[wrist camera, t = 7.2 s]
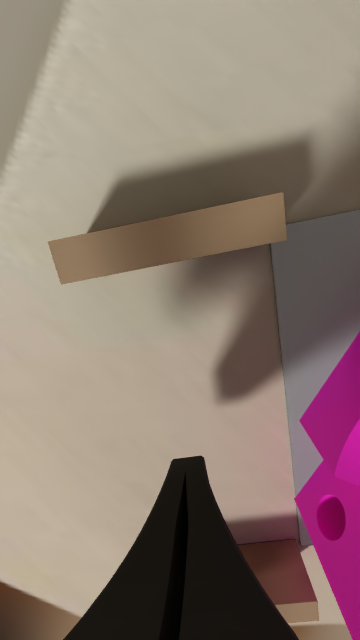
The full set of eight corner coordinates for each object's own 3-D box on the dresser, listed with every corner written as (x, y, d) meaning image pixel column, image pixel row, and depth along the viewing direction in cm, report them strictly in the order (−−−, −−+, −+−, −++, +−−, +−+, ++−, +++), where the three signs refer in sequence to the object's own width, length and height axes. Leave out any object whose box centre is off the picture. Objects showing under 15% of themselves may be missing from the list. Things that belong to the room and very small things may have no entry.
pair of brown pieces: (259, 205, 11) (283, 192, 9) (296, 556, 17) (319, 620, 14) (81, 242, 12) (47, 241, 9) (173, 568, 18) (169, 632, 15)
